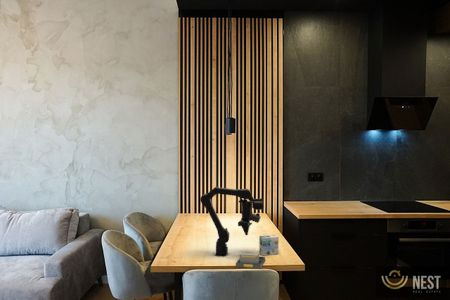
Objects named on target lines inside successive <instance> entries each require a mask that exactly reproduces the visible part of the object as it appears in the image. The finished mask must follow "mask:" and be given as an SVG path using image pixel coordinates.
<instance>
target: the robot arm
mask: <svg viewBox="0 0 450 300" xmlns="http://www.w3.org/2000/svg"><path fill="white" fill-rule="evenodd" d="M216 195H224V196H233V197H237V198H240V199H239V200H238V203H239V204H241V211H240V214H241V218H240V220H239V221H238V222H237V226H238V227H241V228H242V230H243V232H244V235H245V236H248V235H249V230H250V226H252V225H253V222H255V223H256V224H257V223H259V222H260V220H261V215H260V213H258V212H257V213H253V211H252V209H253V210H254V211H255V210H257V211H259V210H260V211H262V210H264V200H263V197H262V198H254V196H253V195H252V193H251V190H250V189H248V188H240V189H238V188H237V189H234V188H227V187H219V186H214V188H213V189H211V190H210V191H209V192H207V193H203V194H202V195H201V196H200V199H199V200H200V203H201V204H202V205H203V207H204V208H205V209H206V210H207V211H208V212H207V213H208V215H209V216H210V219H211V221H212V223H213V224H214V226H215V228H216V232H217V235H218V238H216V239H217V240H216V242H215V254H214V256H218V257H226V256H227V255H228V254H229V253H228V252H229V251H228V250H229V249H228V248H229V247H228V244H227V243H228V242H229V240H230V232H229V230H228V228H227V227H224V226H223V225H222V222H221V220H220V218H219V216H218V214H217V212H216V210H215V208H214V205H213V201H212V200H213V199H212V198H214V197H215V196H216ZM251 221H252V222H251Z"/></svg>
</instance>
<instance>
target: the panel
mask: <svg viewBox="0 0 450 300" xmlns="http://www.w3.org/2000/svg"><path fill="white" fill-rule="evenodd" d="M259 257H260V253H254V252H240V254H239V258H240V263H248V264H259Z"/></svg>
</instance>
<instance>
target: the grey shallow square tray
mask: <svg viewBox="0 0 450 300" xmlns="http://www.w3.org/2000/svg"><path fill="white" fill-rule="evenodd" d="M265 262H266V256H259V264H248V263H240V257H239V258H238V259H237V261H236V262H235V267H236V268H246V269H247V268H249V269H262V268H263V266H264V265H265V264H264V263H265Z"/></svg>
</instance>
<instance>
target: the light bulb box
mask: <svg viewBox="0 0 450 300" xmlns="http://www.w3.org/2000/svg"><path fill="white" fill-rule="evenodd" d="M258 238H259V239H258V240H259V242H258V243H259V246H258V247H259V250H258V251H259V254H260V255H262V256H273V255H279V253H280V252H279V251H280V250H279V248H280V247H279V240H280V239H279V236H278V235H276V234H264V235H259V237H258Z"/></svg>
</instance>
